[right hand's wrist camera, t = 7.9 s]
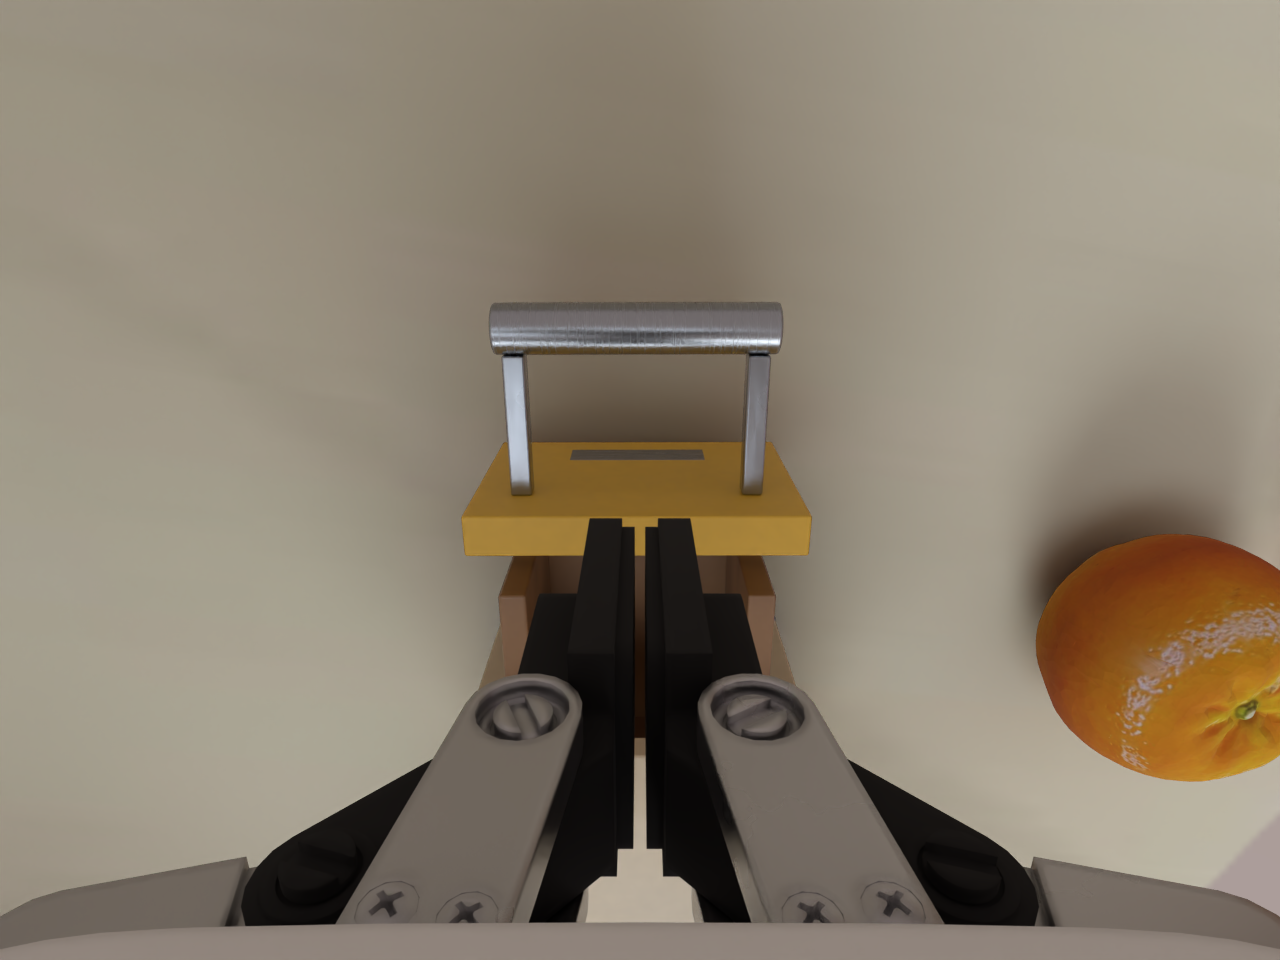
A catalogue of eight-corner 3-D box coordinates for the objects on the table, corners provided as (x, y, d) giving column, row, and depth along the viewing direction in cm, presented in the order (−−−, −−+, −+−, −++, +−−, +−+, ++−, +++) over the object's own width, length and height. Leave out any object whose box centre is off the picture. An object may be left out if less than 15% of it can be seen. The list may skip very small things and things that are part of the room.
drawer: (491, 283, 24) (440, 312, 17) (782, 283, 24) (831, 311, 17) (523, 713, 30) (493, 844, 24) (753, 713, 30) (783, 844, 24)
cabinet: (504, 607, 29) (454, 756, 21) (771, 607, 29) (819, 756, 21) (524, 849, 34) (488, 1044, 26) (754, 849, 34) (788, 1044, 26)
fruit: (1216, 803, 28) (1374, 861, 20) (983, 714, 30) (1047, 735, 22) (1268, 594, 29) (1436, 574, 21) (1040, 524, 31) (1119, 483, 24)
